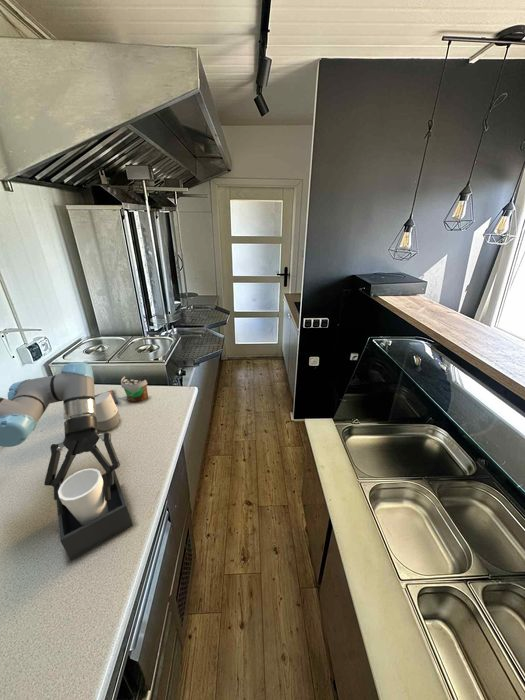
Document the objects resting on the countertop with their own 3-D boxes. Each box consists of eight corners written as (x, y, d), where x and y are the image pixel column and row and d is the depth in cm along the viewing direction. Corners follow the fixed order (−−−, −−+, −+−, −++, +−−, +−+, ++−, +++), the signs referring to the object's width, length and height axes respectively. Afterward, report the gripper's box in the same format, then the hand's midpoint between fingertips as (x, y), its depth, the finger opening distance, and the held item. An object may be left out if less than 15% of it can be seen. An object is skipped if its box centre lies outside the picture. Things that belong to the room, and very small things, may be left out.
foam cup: (73, 516, 77) (55, 481, 72) (109, 495, 82) (96, 462, 77) (79, 543, 70) (61, 507, 65) (118, 519, 76) (104, 484, 70)
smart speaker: (103, 417, 118) (94, 388, 112) (125, 417, 118) (117, 389, 112) (90, 433, 110) (79, 403, 104) (113, 433, 109) (104, 403, 103)
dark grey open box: (65, 514, 80) (55, 495, 77) (120, 487, 88) (114, 468, 84) (70, 560, 70) (59, 540, 66) (133, 524, 77) (126, 505, 74)
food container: (119, 401, 128) (113, 383, 123) (128, 394, 133) (123, 375, 129) (142, 406, 124) (137, 387, 120) (151, 398, 130) (146, 379, 125)
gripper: (127, 411, 85) (135, 491, 78) (40, 428, 79) (42, 518, 72) (121, 407, 78) (130, 494, 72) (25, 426, 72) (26, 524, 65)
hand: (86, 506), depth 72 cm, fingers closed on foam cup, 9 cm apart
